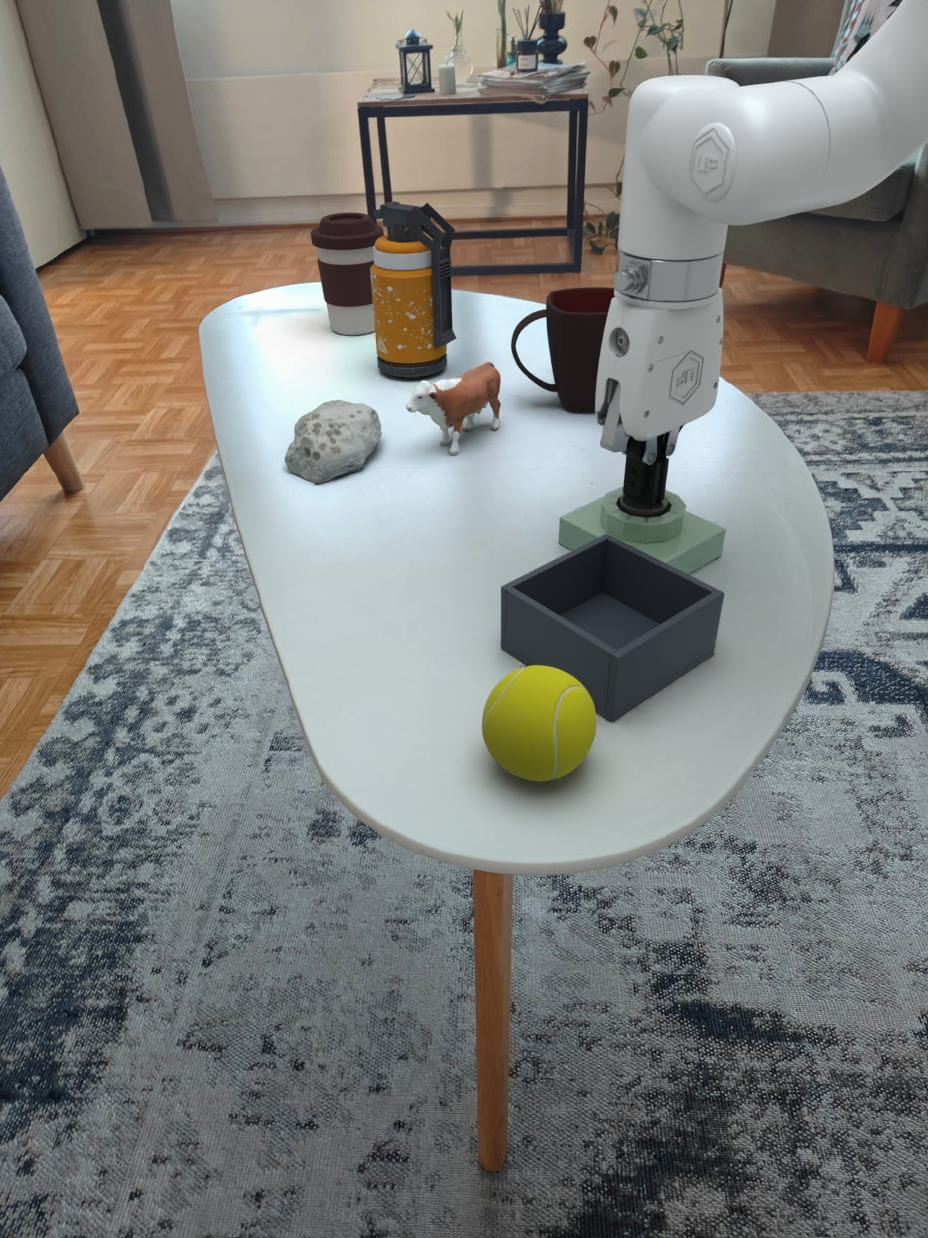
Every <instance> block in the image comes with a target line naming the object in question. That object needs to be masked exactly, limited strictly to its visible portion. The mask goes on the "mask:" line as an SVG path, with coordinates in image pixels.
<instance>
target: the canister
mask: <svg viewBox="0 0 928 1238" xmlns="http://www.w3.org/2000/svg"><path fill="white" fill-rule="evenodd" d="M372 213H373V216H374V218H375V219H376V220H382V227H387V228H390V229H389V230H388V234H384V236H382V237H380V238H378V239H377V240H376V242H375V246H374V247H373V252H374V264H373V265H372V267H371V268H370V274H371V287H372V300H373V312H374V325H375V331H374V334H375V335H374V336H375V349H376V355H377V356H376V362H377V368H378V369H379V371H381V372H383V373H385V374H387V375H391V376H394V377H397V378H402V379H403V378H404V379H418V378H424V377H428V376H431V375H433V374H435V373H438V372H440V371H442V370H443V369H445V368H446V367H447V366H448V353H447V350H448V345H449V343H451V342H453V341H455V340H456V339H457V335H456V334H455V331H454V330H453V325H454V324H453V297H452V296H453V295H452V291H453V290H452V275H453V273H452V258H451V247H452V245H453V239H454V236H455V232H456V228H454V227H453V225H452V224H450V223H449V222H448V221H447V220H446V219H445V218H444V217H443V216H442V215H441V214H440V213H439V212H438V211H437V210H436V209H435V208H434V207H433V206H432V205H431V204H429V202H426V203H425V204H423V205H422V206H420V205H413V204H407V203H406V204H405V203H400V201H394V200H393V201H390V202H386V203H381V204H380V206H379V208H378V209H375V210H373V212H372ZM432 220H433V221H434V222H435V223H436V224H437V225H438V226H439V227H440V228H439V227H438V226H437V225H436V224H435V223H434V222H433V221H432ZM442 230H443V231H444V232H445V233H444V232H443V231H442Z"/></svg>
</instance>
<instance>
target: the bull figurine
mask: <svg viewBox="0 0 928 1238" xmlns="http://www.w3.org/2000/svg"><path fill="white" fill-rule="evenodd" d="M501 380H502V379H501V373H500V372H499V370H498V369H497V368H496V367H495V365H494V364H493V363H492V362H490V361H486V362H484V363H482V364H481V365H479V366H476V367H474V368H470V369H468V370H466V371H465V372H464V373H462V374H461V375H459V376H456V377H454V378H453V377H452V378H448V379H440V380H437V381H436V382H435V383H432V384H431V383H430V381H428V380H421V381H420V382H419V383H418V384H417V385H416V386H414V388H413V390H412V394H411V396H410V398H409V401H408V402H406V404H405V409H406V410H407V412H409V413H417V412H418V413H420V414H421V415H424V416H429V417H430V419H431V420H432V422H433V423H435V425H436V426H439V428H440V431H442V433H443V434H442V438H441V439H440V442H439V445H440V446H448V445H449V443H450V441H451V440H452V442H451V445H450V449H449V450H448V454H449V455H451V456H457V455H458V454H459V451H460V449H461V447H460V445H459V439H460V437H461V435H462V434H461V433H462V431H464V432H467V431H471V429H472V426H474V424H475V423H474V422H475V421H474V418H475V415H476V414H477V415H480V414H481V412H482V410H483V409H486V408H487V406H488V404H489V406H490V408H491V410H492V413H493V414H492V415H493V418H492V422H491V424H490V430H492V431H497V430H499V428H500V424H501V420H500V411H501V410H500V409H501V406H502V403H501V402H500V400H499V394H500V390H501V383H502V381H501ZM465 418H466V421H465V422H464V420H465ZM451 428H453V429H452V432H451V435H452V437H451V435H450V432H449V429H451Z"/></svg>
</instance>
